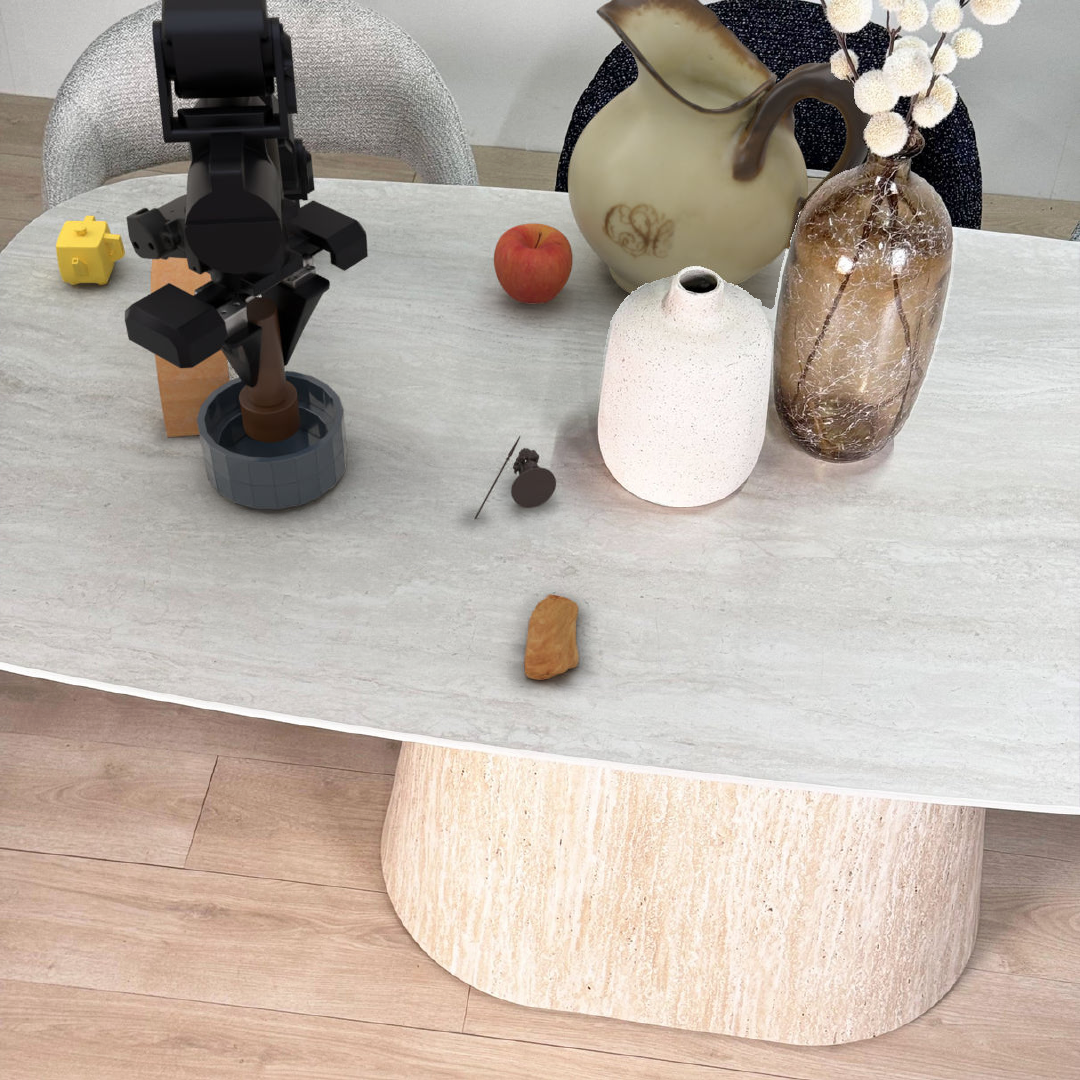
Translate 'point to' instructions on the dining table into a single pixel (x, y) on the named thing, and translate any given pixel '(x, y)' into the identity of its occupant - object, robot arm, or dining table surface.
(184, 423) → the arch
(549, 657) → the brown rounded lump
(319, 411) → the bowl
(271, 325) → the muddler
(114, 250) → the teapot
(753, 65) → the pitcher
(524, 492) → the dark disc and stick
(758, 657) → the dining table surface
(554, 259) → the apple
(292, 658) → the dining table surface
